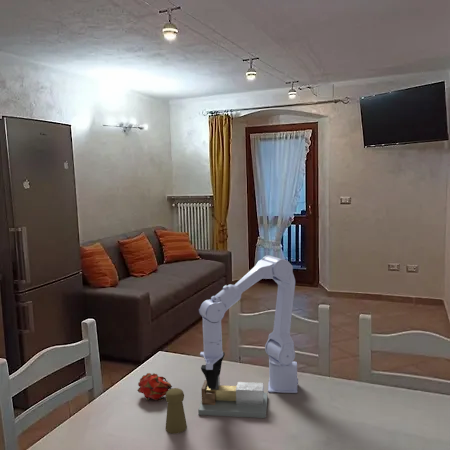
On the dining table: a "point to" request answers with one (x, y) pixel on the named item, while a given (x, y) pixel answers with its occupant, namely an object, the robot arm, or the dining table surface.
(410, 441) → the dining table surface
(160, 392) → the dragon fruit
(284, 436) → the dining table surface
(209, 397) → the walnut socket
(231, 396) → the brushed brass bar
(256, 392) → the aluminium sleeve
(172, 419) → the olive green pawn
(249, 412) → the slate board
